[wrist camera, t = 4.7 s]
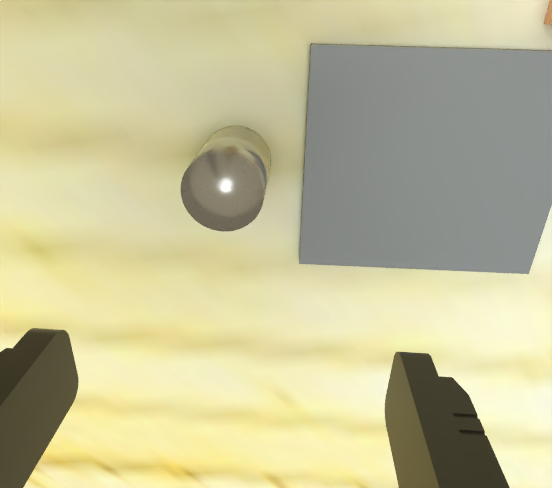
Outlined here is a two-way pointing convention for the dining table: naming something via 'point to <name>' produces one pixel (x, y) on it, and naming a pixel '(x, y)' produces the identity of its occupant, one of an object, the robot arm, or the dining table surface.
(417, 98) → the slate board
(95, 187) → the dining table surface
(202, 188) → the grey metal cylinder
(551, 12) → the terracotta block
